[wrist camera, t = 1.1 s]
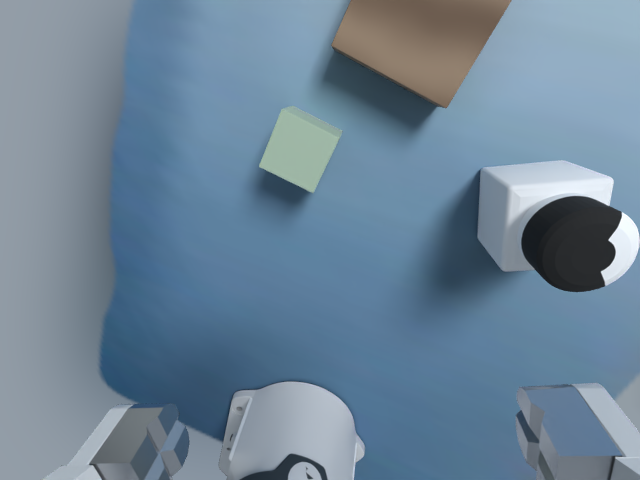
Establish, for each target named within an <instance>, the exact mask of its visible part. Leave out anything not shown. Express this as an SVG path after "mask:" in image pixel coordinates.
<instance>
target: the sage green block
mask: <svg viewBox="0 0 640 480" xmlns="http://www.w3.org/2000/svg"><path fill="white" fill-rule="evenodd" d="M342 132H343V131H342V130H340V129H338V128H336V127H334V126H332V125H330V124H328V123H326V122H324V121H322V120H320V119H318V118H316V117H314V116H312V115H310V114H308V113H306V112H304V111H302V110H300V109H298V108H296V107H294V106H291V107H287V108H283V109H282V110H281V113H280V115H279V118H278V120H277V123H276V125H275V128H274V130H273V133H272V135H271V138H270V140H269V143H268V145H267V148H266V150H265V153H264V155H263V158H262V160H261V163H260V165H259V167H261V168H263V169H265V170H267V171H269V172H271V173H273V174H275V175H277V176H279V177H281V178H283V179H285V180H287V181H289V182H291V183H293V184H295V185H297V186H299V187H302V188H304V189H306V190H308V191H310V192H312V193H313V192H314V190H315V188H316V186H317V184H318V182H319V180H320V178H321V176H322V174H323V172H324V170H325V167H326V165H327V163H328V161H329V159H330V157H331V155H332V153H333V151H334V149H335V147H336V145H337V143H338V140H339V138H340V136H341V134H342Z"/></svg>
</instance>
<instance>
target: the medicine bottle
mask: <svg viewBox="0 0 640 480" xmlns="http://www.w3.org/2000/svg"><path fill="white" fill-rule="evenodd" d="M613 183H614V181H613V179H612V178H611V177H609V176H606V175H603V174H600V173H598V172H595V171H592V170H589V169H587V168H584V167H581V166H578V165H575V164H573V163H570V162H567V161H564V160H559V161H548V162H538V163H527V164H516V165H505V166H494V167H484V168H482V169H481V173H480V194H479V215H478V235H477V237H478V240H479V241H480V242H481V244H482V245H483V246H484V248H485V249H486V250H487V251H488V253H489V254H490V255H491V257H492V258H493V259H494V261H495V262H496V263H497V265H498V266H499V267H500V269H501V270H503V271H506V272H508V271H527V270H536V271H537V272H538V273H539V274H540V275H541V276H542V277H543V278H544V279H545V280H546V281H547V282H548V283H549V284H550V285H552V286H554V287H556V288H558V289H561V290H564V291H570V292H584V291H591V290H594V289H598V288H601V287H604V286H606V285H608V284H610V283H612V282H614V281H615V280H617V279H618V278H619V277H621V276H622V275H623V274H624V273H625V272H626V271H627V270H628V269H629V267H630V266H631V265H632V263H633V262H634V260H635V257H636V255H637V252H638V249H639V241H640V240H639V233H638V229H637V227H636V225H635V223H634V222H633V221H632V220H631V219H630V218H629V217H628V216H627V215H626V214H624V213H622V212H621V211H618V210H616V209H614V208H612V207H610V206H609V204H610V199H611V194H612V188H613Z"/></svg>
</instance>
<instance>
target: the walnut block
mask: <svg viewBox="0 0 640 480" xmlns="http://www.w3.org/2000/svg"><path fill="white" fill-rule="evenodd" d="M510 2H511V0H351V2H350V4H349V6H348V8H347V11H346V13H345V15H344V18H343V20H342V22H341V24H340V27H339V29H338V31H337V33H336V36H335V38H334V40H333V43H332V45H331V46H332V47H333V49H334V50H335V51H337V52H339V53H341V54H342V55H344V56H346V57H348V58H350V59H352V60H353V61H355V62H357V63H359V64H361V65H363V66H364V67H366V68H368V69H370V70H372V71H374V72H375V73H377V74H379V75H381V76H383V77H385V78H387V79H388V80H390V81H392V82H394V83H396V84H398V85H399V86H401V87H403V88H405V89H407V90H409V91H410V92H412V93H414V94H416V95H418V96H420V97H421V98H423V99H425V100H427V101H429V102H431V103H433V104H434V105H436V106H439V107H443V108H447V107H448V105H449V103H450V102H451V100H452V99H453V97H454V95H455V94H456V92H457V90H458V89H459V87H460V85H461V84H462V82H463V80H464V79H465V77H466V75H467V74H468V72H469V70H470V69H471V67H472V65H473V64H474V62H475V60H476V59H477V57H478V55H479V54H480V52H481V50H482V49H483V47H484V45H485V44H486V42H487V40H488V39H489V37H490V35H491V34H492V32H493V30H494V29H495V27H496V25H497V24H498V22H499V20H500V19H501V17H502V15H503V14H504V12H505V10H506V9H507V7H508V5H509V4H510Z"/></svg>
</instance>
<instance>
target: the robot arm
mask: <svg viewBox="0 0 640 480" xmlns="http://www.w3.org/2000/svg"><path fill="white" fill-rule="evenodd" d="M517 402H518V404H519V406H520V408H521V410H520V411H519V412H518V413H517V414H516V431H517V436H518V441H519V444H520V447H521V450H522V453H523V455H524V458H525V460H526V463H528V464H529V465H530V466H531V467H532V468H534V469H535V470H536V471H537V476H536V480H640V433H639V431H638V430H637V429H636V428H635V426H634V425H633V424H632V422H631V421H630V420H629V419H628V417H627V416H626V415H625V414H624V412H623V411H622V410H621V409H620V407H619V406H618V405H617V404H616V402H615V401H614V400H613V399H612V397H611V396H610V395H609V393H608V392H607V391H606V390H605V388H604V387H603V386H601V385H600V384H598V383H585V384H570V385H568V384H563V385H545V386H528V387H519V389H518V391H517ZM179 414H180V413H179V411H178V409H177V407H176V405H175V404H170V403H162V404H124V405H123V404H122V405H116V406H115V407H113V408H111V409H110V410H109V412H108V413H107V414H106V416H105V417H104V418H103V420H102V421H101V422H100V423H99V425H98V426H97V427H96V429H95V430H94V431H93V433H92V434H91V435H90V437H89V438H88V439H87V440H86V442H85V443H84V444H83V446H82V447H81V448H80V450H79V451H78V452H77V453H76V455H75V456H74V458H73V459H72V460H71V461H70V463H69V464H68V465H65V466H64V465H63V466H60V467H59V468H58V469H56V470H55V471H53V472H52V473H51V474H49V475H48V476H46V477H45V478H44V479H42V480H172V476H173V475H174V474H175V473H176V472H177V471H178V470H180V469H181V467H182V466H183V464H184V462H185V459H186V457H187V454H188V448H189V436H188V431H187V429H186V427H185V426H184V425H183V424H182V423H180V422H179V421H178V420H177V419H178V416H179ZM364 451H365V446H364V444H363V442H362V440H361V439H360V438H359V437H358V435H357V434H356V431H355V425H354V420H353V417H352V414H351V412H350V410H349V409H348V407H347V406H346V405H345V404H344V403H343V402H342V401H341V400H340V399H339V398H338V397H337V396H335V395H334V394H332V393H331V392H329V391H327V390H325V389H323V388H321V387H318V386H316V385H312V384H308V383H303V382H281V383H276V384H272V385H269V386H267V387H264V388H262V389H258V390H242V391H237V392H235V393H234V395H233V398H232V402H231V407H230V412H229V416H228V421H227V426H226V431H225V436H224V441H223V446H222V451H221V455H220V460H219V468H220V470H221V471H222V472H223V473H224V474H225V475H226V476H227V480H354V471H355V463H356V462H357V461H359V460H360V459H361V458H362V457H363V456H364Z"/></svg>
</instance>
